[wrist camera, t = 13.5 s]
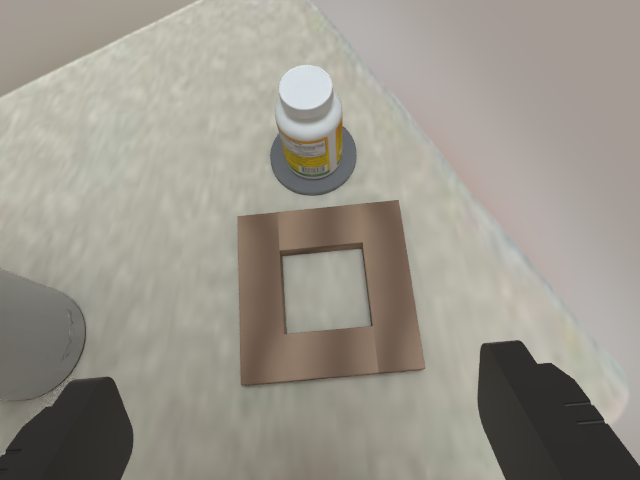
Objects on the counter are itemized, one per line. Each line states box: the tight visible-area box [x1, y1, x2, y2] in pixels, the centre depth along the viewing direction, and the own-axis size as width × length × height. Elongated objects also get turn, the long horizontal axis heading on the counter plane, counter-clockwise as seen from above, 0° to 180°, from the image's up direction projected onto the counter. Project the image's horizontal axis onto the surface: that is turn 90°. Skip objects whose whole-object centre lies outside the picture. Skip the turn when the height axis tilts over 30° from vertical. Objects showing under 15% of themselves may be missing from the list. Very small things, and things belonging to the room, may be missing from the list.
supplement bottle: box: [275, 65, 343, 179], centre depth 37 cm, size 5×5×10 cm
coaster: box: [270, 126, 356, 195], centre depth 42 cm, size 8×8×1 cm
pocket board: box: [238, 200, 425, 386], centre depth 37 cm, size 14×14×2 cm
